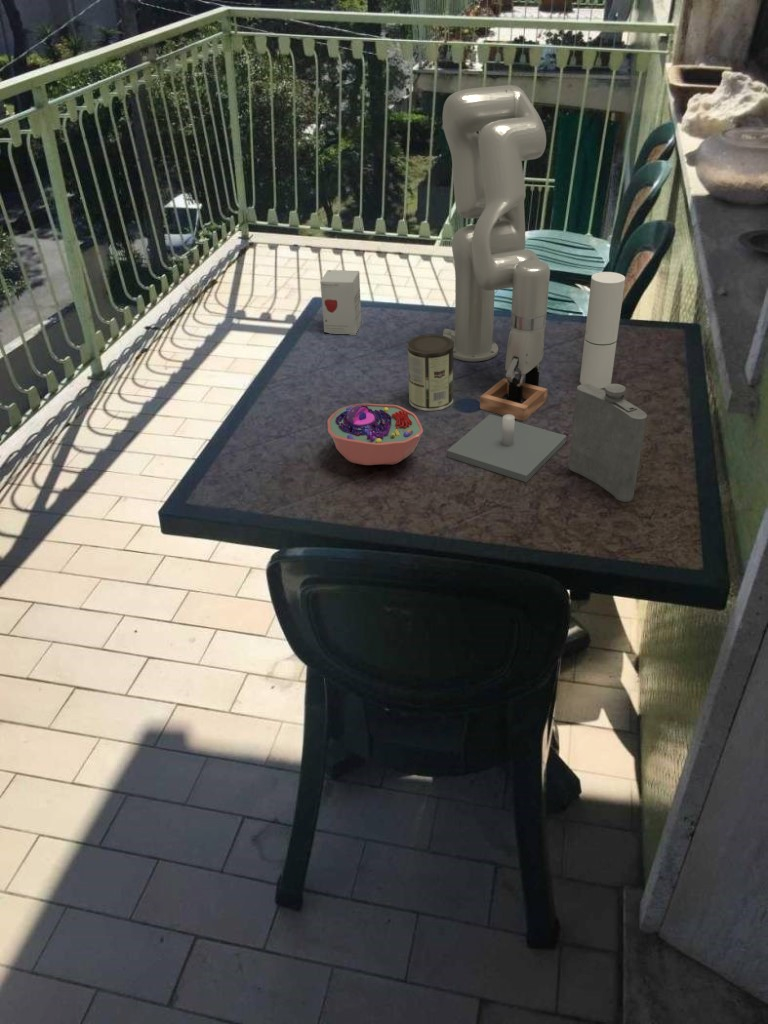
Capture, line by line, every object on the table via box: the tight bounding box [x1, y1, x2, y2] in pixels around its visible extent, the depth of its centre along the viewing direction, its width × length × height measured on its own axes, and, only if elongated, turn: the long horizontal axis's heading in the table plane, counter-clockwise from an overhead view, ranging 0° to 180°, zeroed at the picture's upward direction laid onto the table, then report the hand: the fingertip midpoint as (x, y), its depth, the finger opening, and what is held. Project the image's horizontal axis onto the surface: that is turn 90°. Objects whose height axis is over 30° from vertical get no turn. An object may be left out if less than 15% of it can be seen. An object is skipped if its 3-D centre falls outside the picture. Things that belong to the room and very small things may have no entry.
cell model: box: [326, 403, 424, 466], centre depth 163 cm, size 17×20×11 cm
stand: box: [446, 413, 567, 483], centre depth 165 cm, size 18×18×8 cm
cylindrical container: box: [579, 271, 626, 389], centre depth 184 cm, size 7×7×25 cm
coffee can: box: [406, 334, 454, 412], centre depth 182 cm, size 10×10×14 cm
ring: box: [479, 377, 548, 422], centre depth 182 cm, size 11×11×3 cm
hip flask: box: [567, 383, 648, 503], centre depth 151 cm, size 16×4×20 cm, turn 33°
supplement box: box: [320, 269, 362, 336], centre depth 218 cm, size 9×9×15 cm
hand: (523, 392), depth 186 cm, fingers open, 7 cm apart
